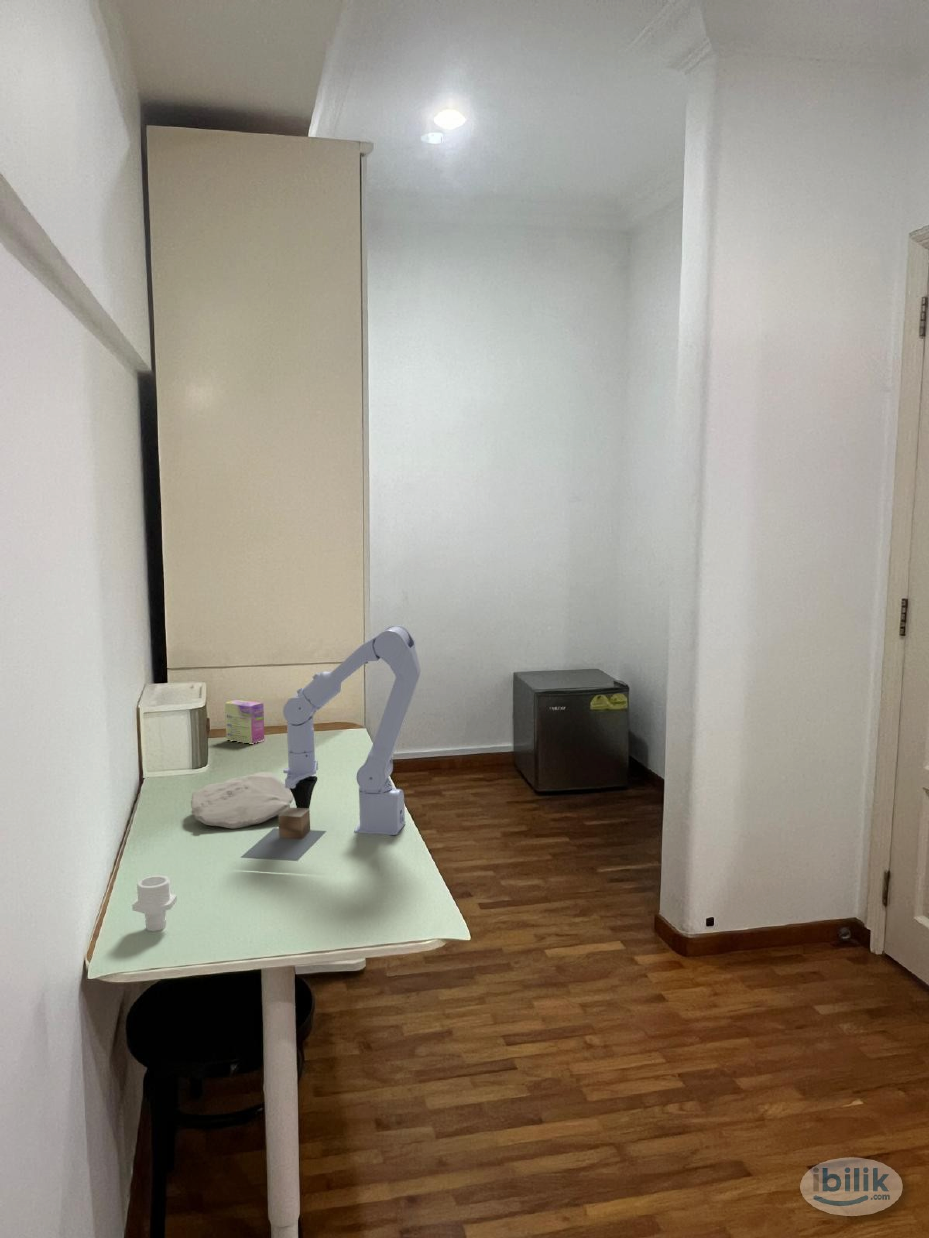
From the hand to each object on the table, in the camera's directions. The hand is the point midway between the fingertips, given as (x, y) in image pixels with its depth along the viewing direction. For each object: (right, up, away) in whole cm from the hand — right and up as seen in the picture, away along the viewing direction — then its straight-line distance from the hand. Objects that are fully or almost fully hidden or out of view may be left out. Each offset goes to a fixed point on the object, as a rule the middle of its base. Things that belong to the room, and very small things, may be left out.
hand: (303, 810), depth 205 cm
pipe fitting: (-17, -10, -47) cm, 51 cm away
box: (-30, +5, +77) cm, 83 cm away
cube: (-1, -4, -5) cm, 6 cm away
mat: (-2, -5, -10) cm, 12 cm away
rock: (-16, -3, +13) cm, 21 cm away
